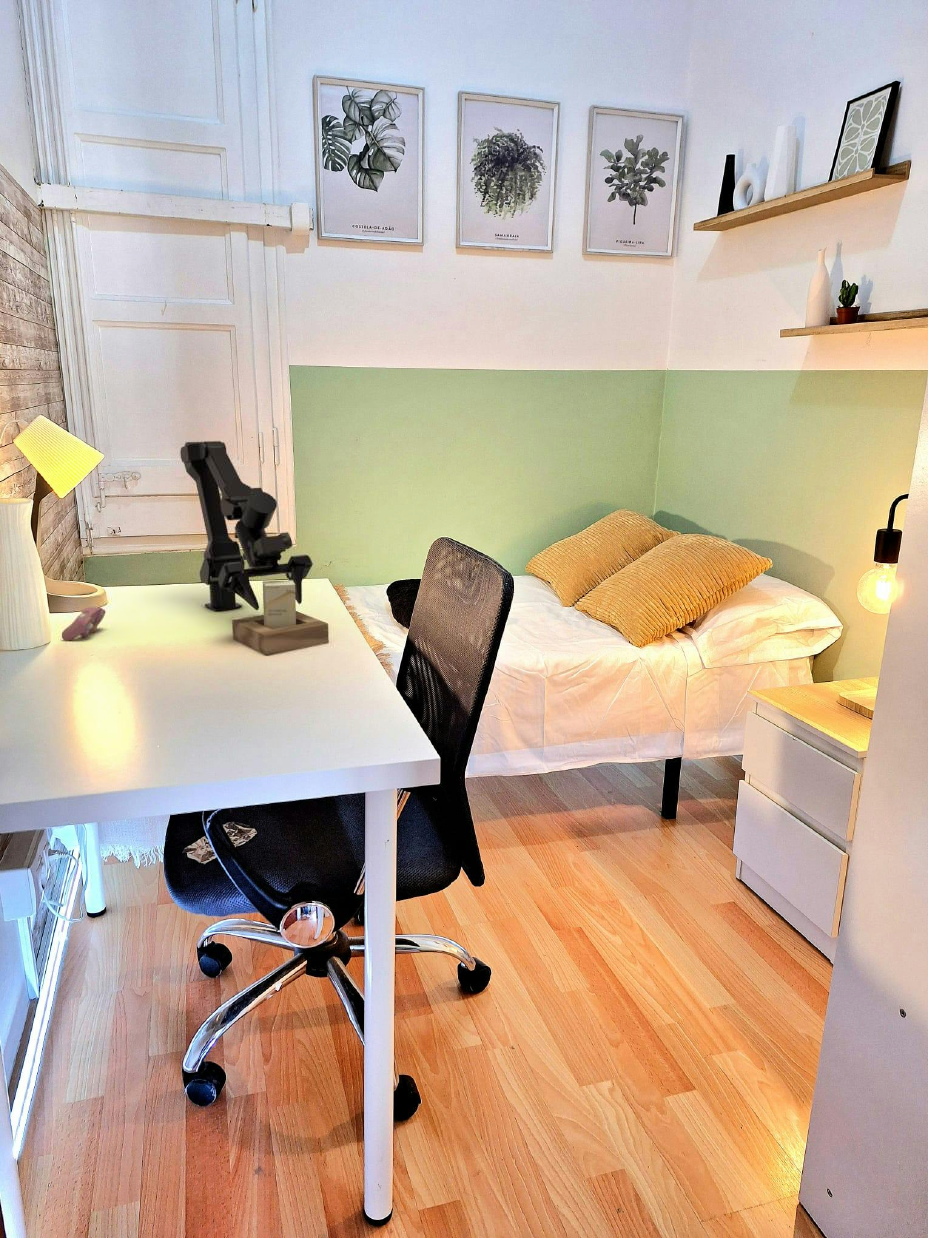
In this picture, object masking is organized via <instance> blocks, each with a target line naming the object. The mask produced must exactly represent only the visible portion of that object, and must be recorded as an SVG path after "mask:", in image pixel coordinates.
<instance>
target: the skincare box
mask: <svg viewBox="0 0 928 1238" xmlns="http://www.w3.org/2000/svg"><path fill="white" fill-rule="evenodd" d="M262 602H263V615H264V626H265V627H267V628H270V629H278V628H283V627H288V626H293V625H296V611H297V610H296V607H297V605H296V602H297V601H296V599H295V583H294V581H293V580H289V579H288V580H269V581H268V580H265V581H262Z"/></svg>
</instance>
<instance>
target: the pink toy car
mask: <svg viewBox="0 0 928 1238" xmlns="http://www.w3.org/2000/svg"><path fill="white" fill-rule="evenodd" d="M105 615H106V610H105V609H103V608H102V607H99V606H98V607H96V606H95V605H93V606H90V607H86V608H84V609H83V610H82V612H81V613H80V614H79V615H78V616H77V617H76V618H75V619H74V621H73V622H72V623H71V624H70V625H69V626H67V627H66V628H64V630H63V631H62V632H61V639H63V640H64V641H72V640H74V639H76V638H77V637H79V636H80V637H83V638H86V637H87V636H88V635H89V634H90V633H91V634H93V633H94V632H96V630H97V628H98V626H99V625H100V623H101V622H102V621H103V619H104V616H105Z"/></svg>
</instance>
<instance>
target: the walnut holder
mask: <svg viewBox="0 0 928 1238" xmlns="http://www.w3.org/2000/svg"><path fill="white" fill-rule="evenodd" d="M231 625H232V639H233V640H234V641H236V642H238V643H241V644H242V645H245V646H246V647H248V648H251V649H252V650H254V651H257V652H259V653H260V654H261V655H262V654H263V655H264V656H270V655H276V654H281V653H285V652H290V651H295V650H299V649H303V648H308V647H313V646H319V645H323V644H328V643H329V623H328V622H325V621H322V620H320V619H317V618H315V617H313V616H311V615H307V614H305V613H302V612H299V611H298V610H296V625H293V626H288V627H283V628H278V629H270V628H267V627H265V626H264V614H260V615H254V616H247V617H243V618H238V619H232V620H231Z"/></svg>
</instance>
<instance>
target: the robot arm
mask: <svg viewBox="0 0 928 1238" xmlns="http://www.w3.org/2000/svg"><path fill="white" fill-rule="evenodd" d="M226 446H227V445H226V443H225V442H224V441H223V442H222V440H221V441H220V440H214V441H213V440H211V441H210V440H208V441H186V442H185V443H184V445H183V446H181V448H180V450H179V451H180V459H181V462H182V463H183V464H184V468H185V471H186V473H187V474H188V476H190V477H191V479H192V480H194V482H195V484H196V490H197V494H198V499H199V504H200V508H201V509H200V510H201V514H202V518H203V522H204V527H205V528H204V529H205V531H206V537H207V545H206V546H205V549H204V552H203V561H202V564H201V567H200V570H199V579H200V582H201V583H203V584H204V585H206V586H209V599H210V602H209V603H208V602H207V603H205V604H204V607H206V608H208V609H211V610H213V611H215V612H221V611H228V610H233V609H240V608H242V607H243V604H240V603H237V601H236V600H237V599H236V595H237V596H239V597H240V598H241V599H243V600H244V601H245V602H246V603H247V604H249V606H250V607H252V608H253V609H254V610H255V611H258V610H259V609H260V605H259V602H258V599H257V597H256V595H255V592H254V590H253V588H252V584H251V583H250V578H255V577H266V576H274V575H275V576H276V575H283V574H285V576H286V579H288V580H293V581H294V583H295V600H296V602H297V604H298V605H301V604H302V601H303V592H302V591H303V588H302V587H303V580H304V579H306V578H307V576H308V574H309V572H310V571H311V569H312V567H313V566H314V564H313V561H312V558H311V556H309V555H308V554H299V555H291V556H290V558H289V559H288V562H287V563H280V564H279V562H278V561H281V560H282V555H281V554H283V552H284V553H285V552H286V550H288V549H290V548H292V547H293V541H292V538H291V535H290V533H289V532H287V531H285V532H280V533H279V534H277V535H272V536H271V535H270V536H268V535H267V534H268V533H267V532H266V528H268V527H269V526H270V524H271V521H272V519H273V516H274V514H275V512H276V509H277V505H278V504H277V503H278V502H277V500H276V498H274V497H273V496H272V494H270V493H269V492H265V491H263V489H262V487H251V486H250V485H248V484H246V483H244V482H243V481H242V479H241V478H240V476H239V474H238V472H237V470H236V468H235V466H234V465H233V462H232V460H231V459H230V456H229V455H228V453H227V447H226ZM226 520H227V521H237V522H236V524H235V527H234V538H235V539H238V541H239V543H238V541H236V540H235V541H234V540H232V538H231V537H230V535H229V531H228V530H229V529H228V526H227V522H226ZM239 544H240V545H239ZM240 547H241V550H242V551H243V554H242V553H241V550H240ZM245 560H246V561H245ZM245 563H247V565H248V567H245Z"/></svg>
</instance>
